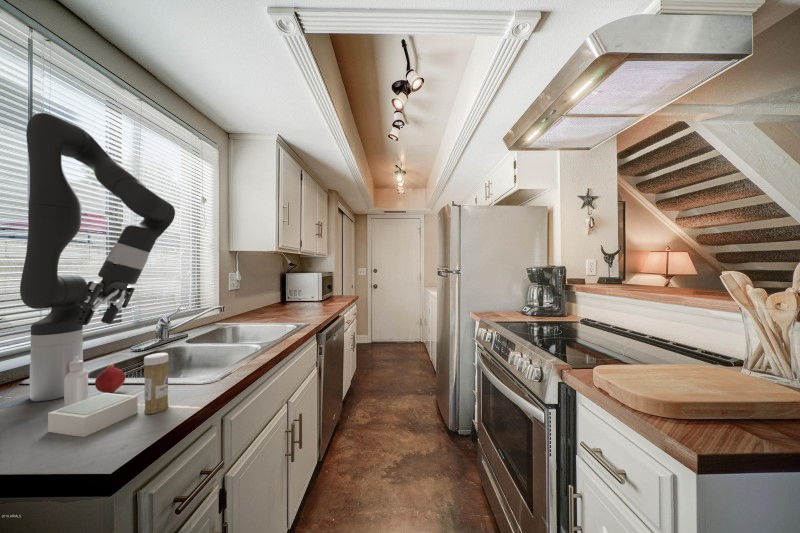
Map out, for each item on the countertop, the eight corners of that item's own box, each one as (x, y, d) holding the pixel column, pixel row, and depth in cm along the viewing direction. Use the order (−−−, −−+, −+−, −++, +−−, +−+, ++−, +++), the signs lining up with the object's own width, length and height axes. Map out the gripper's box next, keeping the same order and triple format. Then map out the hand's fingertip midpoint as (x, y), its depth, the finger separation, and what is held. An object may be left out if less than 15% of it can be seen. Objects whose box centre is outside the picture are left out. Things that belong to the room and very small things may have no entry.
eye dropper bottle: (96, 398, 76) (96, 353, 76) (71, 408, 70) (71, 360, 70) (81, 398, 76) (81, 353, 76) (54, 408, 71) (54, 359, 71)
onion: (105, 399, 75) (105, 369, 75) (89, 397, 77) (89, 367, 77) (130, 390, 81) (130, 362, 81) (114, 388, 82) (114, 360, 82)
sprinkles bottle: (167, 411, 69) (167, 355, 69) (142, 416, 66) (142, 358, 66) (169, 403, 73) (169, 350, 73) (145, 408, 70) (145, 354, 70)
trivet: (47, 431, 60) (48, 412, 60) (105, 409, 70) (105, 392, 70) (84, 437, 58) (84, 416, 58) (137, 412, 68) (137, 395, 68)
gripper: (126, 263, 82) (97, 318, 78) (88, 254, 68) (51, 320, 64) (155, 271, 83) (128, 326, 80) (124, 264, 70) (90, 329, 66)
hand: (94, 323), depth 72 cm, fingers open, 8 cm apart
